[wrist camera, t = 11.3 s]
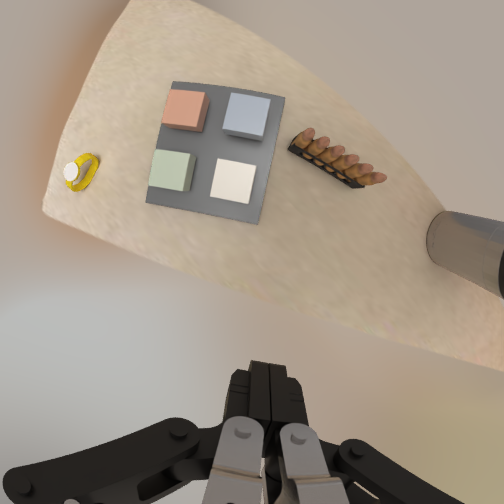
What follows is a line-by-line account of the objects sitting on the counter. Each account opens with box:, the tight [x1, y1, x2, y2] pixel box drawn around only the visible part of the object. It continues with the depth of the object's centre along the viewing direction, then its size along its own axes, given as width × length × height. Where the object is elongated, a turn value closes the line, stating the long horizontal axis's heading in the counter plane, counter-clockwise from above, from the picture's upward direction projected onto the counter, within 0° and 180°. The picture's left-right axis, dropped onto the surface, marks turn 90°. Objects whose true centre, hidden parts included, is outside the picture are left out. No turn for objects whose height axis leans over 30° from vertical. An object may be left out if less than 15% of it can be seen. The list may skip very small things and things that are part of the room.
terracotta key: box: [161, 89, 210, 132], centre depth 32 cm, size 5×5×4 cm
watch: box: [64, 153, 99, 192], centre depth 35 cm, size 6×3×6 cm, turn 144°
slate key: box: [222, 93, 271, 141], centre depth 31 cm, size 5×5×4 cm
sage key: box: [148, 149, 196, 191], centre depth 34 cm, size 5×5×4 cm
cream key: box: [210, 159, 257, 204], centre depth 34 cm, size 5×5×4 cm
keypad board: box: [146, 81, 285, 225], centre depth 35 cm, size 16×18×4 cm
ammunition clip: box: [288, 128, 387, 188], centre depth 31 cm, size 11×2×12 cm, turn 62°
